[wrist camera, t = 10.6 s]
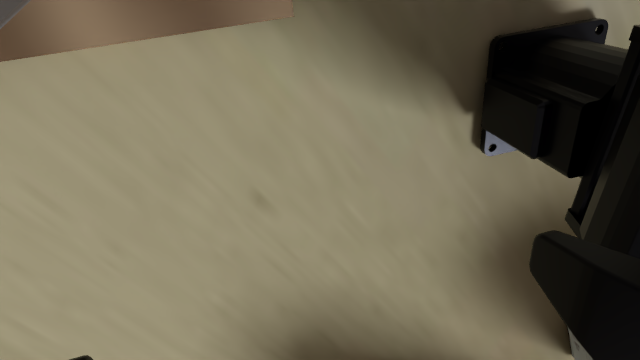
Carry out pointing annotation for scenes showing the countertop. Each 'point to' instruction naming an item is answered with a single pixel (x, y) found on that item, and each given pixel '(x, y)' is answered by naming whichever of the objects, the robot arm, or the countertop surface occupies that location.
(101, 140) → the countertop surface
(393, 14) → the countertop surface
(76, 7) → the gear board
